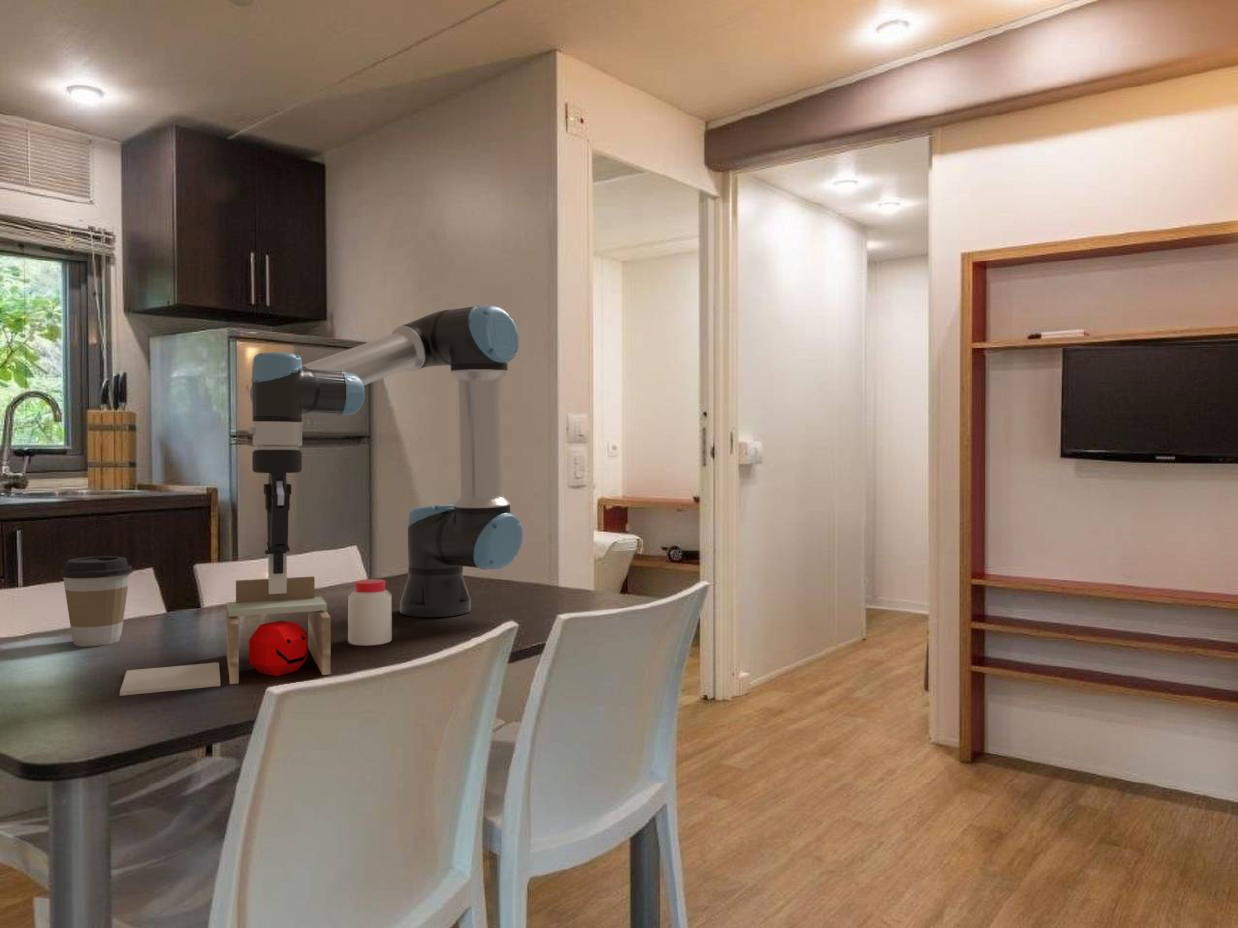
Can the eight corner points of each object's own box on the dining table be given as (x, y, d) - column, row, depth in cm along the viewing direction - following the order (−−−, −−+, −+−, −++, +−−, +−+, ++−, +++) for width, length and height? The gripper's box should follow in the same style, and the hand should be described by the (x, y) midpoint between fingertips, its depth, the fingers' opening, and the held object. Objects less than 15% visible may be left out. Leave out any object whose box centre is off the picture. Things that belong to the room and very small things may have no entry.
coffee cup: (147, 639, 161) (147, 557, 161) (87, 652, 151) (86, 564, 150) (106, 633, 166) (106, 554, 165) (45, 645, 155) (44, 560, 155)
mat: (218, 665, 142) (218, 662, 142) (220, 685, 130) (220, 681, 130) (126, 674, 136) (126, 670, 136) (119, 695, 124) (119, 691, 124)
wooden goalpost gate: (315, 647, 155) (315, 597, 155) (330, 674, 137) (330, 616, 137) (226, 655, 149) (226, 602, 149) (229, 684, 131) (230, 624, 131)
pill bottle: (400, 638, 164) (400, 579, 164) (375, 647, 156) (375, 585, 156) (364, 635, 166) (365, 577, 166) (339, 643, 159) (339, 583, 159)
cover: (320, 602, 148) (320, 575, 148) (327, 610, 141) (327, 582, 141) (227, 608, 142) (227, 580, 142) (229, 616, 135) (229, 587, 135)
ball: (274, 680, 133) (275, 630, 133) (240, 673, 137) (240, 625, 137) (316, 669, 140) (316, 622, 140) (282, 663, 144) (282, 617, 144)
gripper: (249, 448, 147) (250, 588, 147) (255, 448, 135) (255, 600, 136) (297, 448, 150) (297, 585, 151) (306, 448, 138) (306, 597, 139)
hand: (277, 592), depth 143 cm, fingers closed
